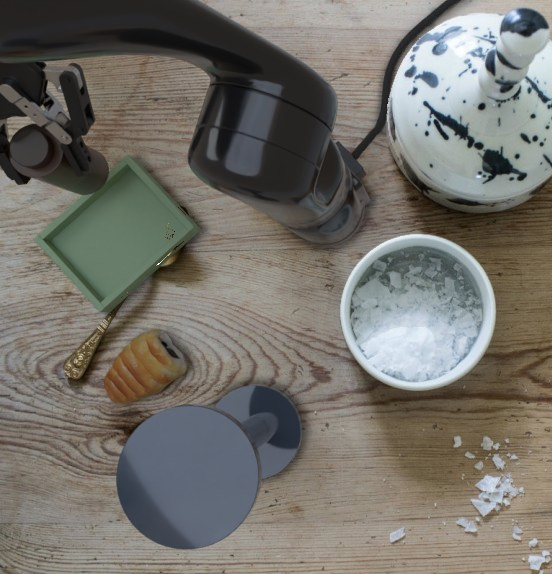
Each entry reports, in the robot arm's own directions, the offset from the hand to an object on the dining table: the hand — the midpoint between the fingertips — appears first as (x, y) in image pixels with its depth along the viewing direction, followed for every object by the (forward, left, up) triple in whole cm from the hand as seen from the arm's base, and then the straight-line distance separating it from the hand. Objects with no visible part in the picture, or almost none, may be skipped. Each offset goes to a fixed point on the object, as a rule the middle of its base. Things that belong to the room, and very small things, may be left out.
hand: (55, 176), depth 61 cm
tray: (+2, +3, -13) cm, 13 cm away
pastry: (+10, +18, -13) cm, 24 cm away
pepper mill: (-1, -2, -6) cm, 6 cm away
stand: (+6, +31, -13) cm, 35 cm away
